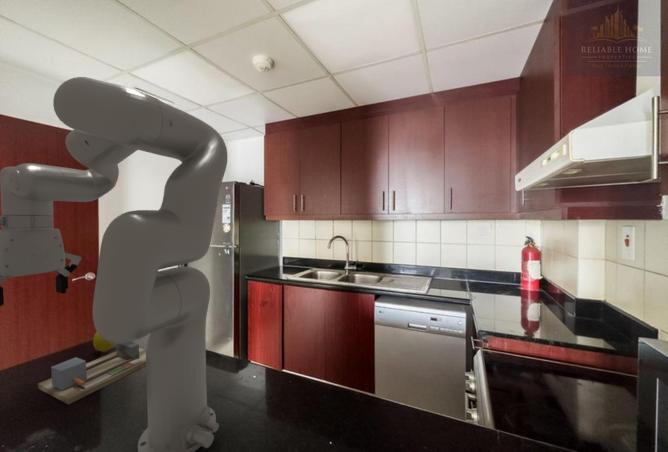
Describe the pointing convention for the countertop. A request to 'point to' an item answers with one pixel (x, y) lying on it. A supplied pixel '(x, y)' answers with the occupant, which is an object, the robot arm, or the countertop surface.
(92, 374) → the gauge board
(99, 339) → the lemon
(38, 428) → the countertop surface
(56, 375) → the slider block with pointer
